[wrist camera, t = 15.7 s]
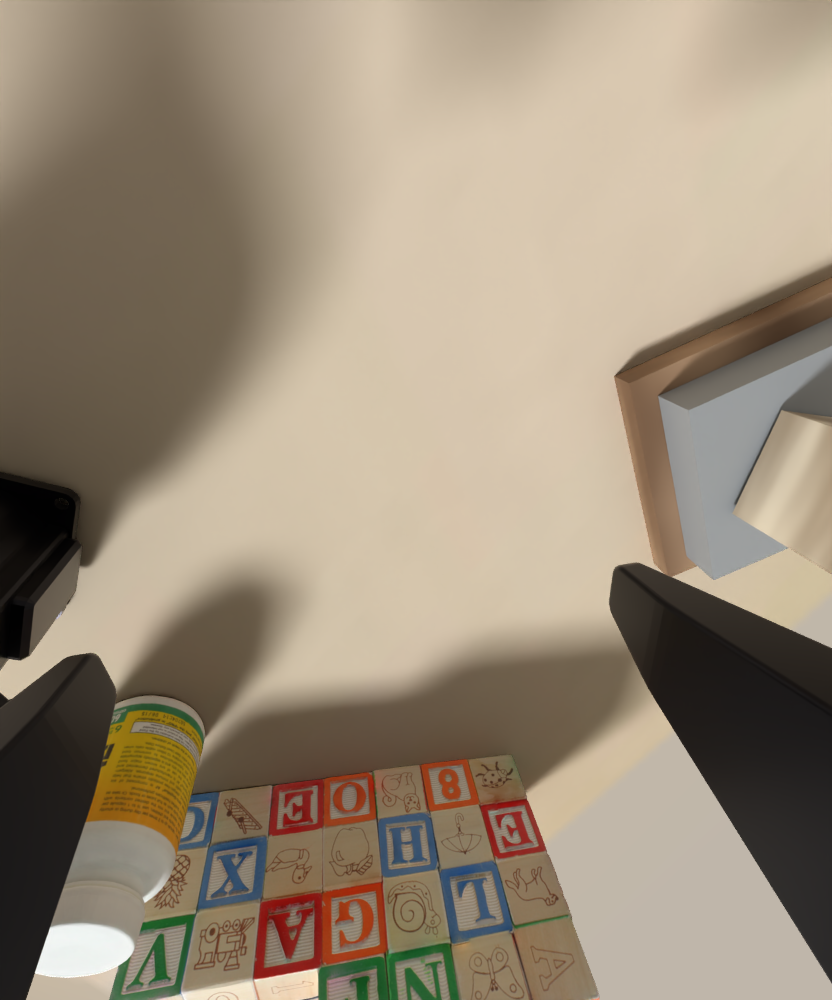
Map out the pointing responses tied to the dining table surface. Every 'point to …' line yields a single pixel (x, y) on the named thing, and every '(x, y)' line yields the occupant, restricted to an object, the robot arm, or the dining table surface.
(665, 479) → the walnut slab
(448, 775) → the stack of blocks
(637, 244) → the dining table surface
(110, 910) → the supplement bottle
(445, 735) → the dining table surface
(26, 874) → the robot arm
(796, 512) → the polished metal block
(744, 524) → the slate slab
